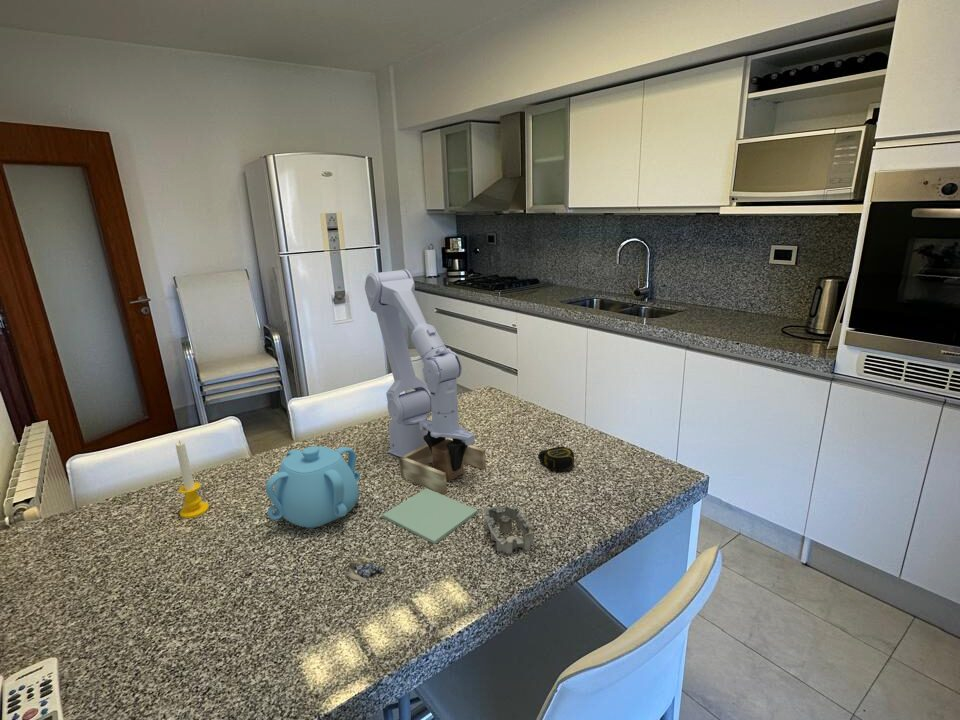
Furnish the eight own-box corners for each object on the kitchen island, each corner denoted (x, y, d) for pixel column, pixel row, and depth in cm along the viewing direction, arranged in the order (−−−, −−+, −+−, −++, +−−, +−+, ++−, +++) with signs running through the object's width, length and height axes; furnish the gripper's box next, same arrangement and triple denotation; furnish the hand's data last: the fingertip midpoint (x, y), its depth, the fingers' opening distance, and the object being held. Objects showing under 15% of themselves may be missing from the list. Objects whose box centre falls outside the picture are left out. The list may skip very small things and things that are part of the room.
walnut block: (433, 475, 113) (431, 446, 111) (448, 466, 117) (447, 438, 115) (448, 481, 110) (446, 452, 108) (463, 472, 114) (462, 443, 112)
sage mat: (382, 517, 98) (382, 514, 98) (426, 490, 107) (426, 488, 107) (434, 544, 89) (434, 541, 89) (477, 512, 98) (477, 509, 98)
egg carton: (537, 550, 87) (537, 530, 86) (496, 558, 86) (495, 537, 84) (519, 516, 97) (519, 498, 96) (482, 522, 95) (481, 504, 94)
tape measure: (563, 457, 119) (563, 442, 118) (580, 469, 113) (580, 454, 112) (537, 463, 117) (537, 448, 116) (553, 476, 111) (553, 461, 110)
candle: (213, 510, 103) (198, 439, 99) (185, 521, 99) (168, 448, 95) (203, 501, 106) (189, 432, 102) (176, 512, 103) (159, 441, 98)
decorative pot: (259, 535, 94) (247, 469, 90) (296, 489, 109) (287, 431, 106) (345, 537, 92) (336, 470, 89) (370, 490, 108) (364, 431, 104)
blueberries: (353, 558, 87) (351, 548, 87) (399, 558, 87) (398, 548, 86) (341, 586, 81) (339, 575, 80) (391, 585, 80) (390, 575, 80)
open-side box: (401, 476, 113) (399, 458, 112) (444, 452, 123) (442, 435, 122) (443, 494, 105) (442, 474, 104) (485, 467, 115) (485, 449, 114)
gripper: (407, 407, 111) (412, 464, 114) (457, 422, 102) (460, 483, 105) (430, 398, 116) (434, 452, 119) (479, 411, 107) (482, 469, 111)
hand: (448, 466), depth 113 cm, fingers closed on walnut block, 4 cm apart
